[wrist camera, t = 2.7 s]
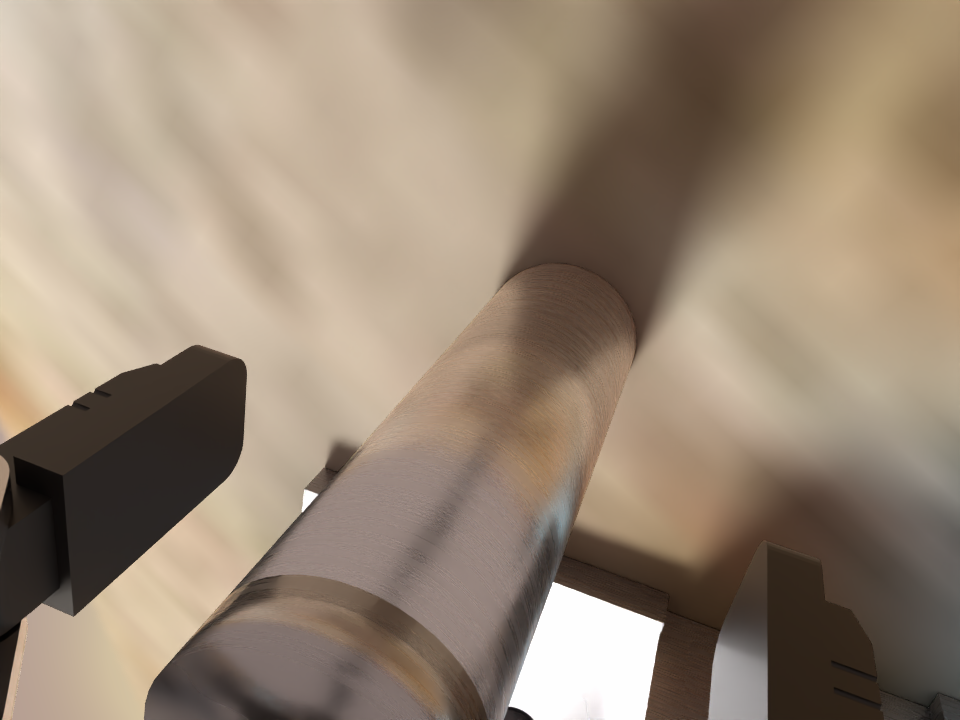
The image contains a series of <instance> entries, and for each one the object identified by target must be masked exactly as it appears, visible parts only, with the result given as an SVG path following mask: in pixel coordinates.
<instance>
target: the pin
mask: <svg viewBox="0 0 960 720" xmlns="http://www.w3.org/2000/svg"><path fill="white" fill-rule="evenodd" d="M635 350H636V330H635V325H634V321H633V318H632V315H631V312H630V310H629V308H628V306H627V304H626V303H625V301H624V300H623V298H622V297H621V295H620V294H619V293H618V292H617V291H616V290H615V288H614V287H613V286H611V285H610V284H609V283H608V282H607V281H606V280H604V279H603V278H601V277H600V276H598V275H597V274H595V273H593V272H591V271H589V270H586V269H584V268H581V267H578V266H574V265H569V264H561V263H549V264H542V265H537V266H534V267H531V268H528V269H526V270H523V271H521V272H519V273H518V274H516V275H515V276H513V277H512V278H511V279H510V280H509V281H507V282H506V283H505V284H504V285H503V287H502V288H501V289H500V290H499V291H498V292H497V293H496V294H495V296H494V297H493V298H492V299H491V300H490V301H489V302H488V303H487V305H486V306H485V307H484V308H483V309H482V310H481V311H480V312H479V314H478V315H477V316H476V317H475V318H474V319H473V320H472V321H471V323H470V324H469V325H468V326H467V327H466V328H465V329H464V331H463V332H462V333H461V334H460V335H459V336H458V337H457V338H456V340H455V341H454V342H453V343H452V344H451V345H450V346H449V347H448V349H447V350H446V351H445V352H444V353H443V354H442V355H441V356H440V358H439V359H438V360H437V361H436V362H435V363H434V364H433V365H432V367H431V368H430V369H429V370H428V371H427V372H426V373H425V375H424V376H423V377H422V378H421V379H420V380H419V381H418V382H417V384H416V385H415V386H414V387H413V388H412V389H411V390H410V391H409V393H408V394H407V395H406V396H405V397H404V398H403V399H402V400H401V402H400V403H399V404H398V405H397V406H396V407H395V408H394V409H393V411H392V412H391V413H390V414H389V415H388V416H387V417H386V419H385V420H384V421H383V422H382V423H381V424H380V425H379V426H378V428H377V429H376V430H375V431H374V432H373V433H372V434H371V435H370V437H369V438H368V439H367V440H366V441H365V442H364V443H363V444H362V446H361V447H360V448H359V449H358V450H357V451H356V452H355V453H354V455H353V456H352V457H351V458H350V459H349V460H348V461H347V462H346V464H345V465H344V466H343V467H342V468H341V469H340V470H339V472H338V473H337V474H336V475H335V476H334V477H333V478H332V479H331V481H330V482H329V483H328V484H327V485H326V486H325V487H324V488H323V490H322V491H321V492H320V493H319V494H318V495H317V496H316V497H315V499H314V500H313V501H312V502H311V503H310V504H309V505H308V506H307V508H306V509H305V510H304V511H303V512H302V513H301V514H300V516H299V517H298V518H297V519H296V520H295V521H294V522H293V523H292V525H291V526H290V527H289V528H288V529H287V530H286V531H285V532H284V534H283V535H282V536H281V537H280V538H279V539H278V540H277V541H276V543H275V544H274V545H273V546H272V547H271V548H270V549H269V550H268V552H267V553H266V554H265V555H264V556H263V557H262V558H261V560H260V561H259V562H258V563H257V564H256V565H255V566H254V567H253V569H252V570H251V571H250V572H249V573H248V574H247V575H246V576H245V578H244V579H243V580H242V581H241V582H240V583H239V584H238V585H237V587H236V588H235V589H234V590H233V591H232V592H231V593H230V594H229V596H228V597H227V598H226V599H225V600H224V601H223V602H222V603H221V605H220V606H219V607H218V608H217V609H216V610H215V611H214V613H213V614H212V615H211V616H210V617H209V618H208V619H207V620H206V622H205V623H204V624H203V625H202V626H201V627H200V628H199V629H198V631H197V632H196V633H195V634H194V635H193V636H192V637H191V638H190V640H189V641H188V642H187V643H186V644H185V645H184V646H183V647H182V649H181V650H180V651H179V652H178V653H177V654H176V655H175V657H174V658H173V659H172V660H171V661H170V662H169V663H168V664H167V666H166V667H165V668H164V669H163V670H162V671H161V672H160V674H159V675H158V676H157V677H156V678H155V680H154V682H153V684H152V685H151V687H150V689H149V691H148V695H147V699H146V703H145V714H144V720H504V718H505V715H506V712H507V709H508V707H509V704H510V701H511V698H512V696H513V693H514V690H515V687H516V684H517V682H518V679H519V676H520V673H521V670H522V668H523V665H524V662H525V659H526V657H527V654H528V651H529V648H530V645H531V643H532V640H533V637H534V634H535V632H536V629H537V626H538V623H539V620H540V618H541V615H542V612H543V609H544V607H545V604H546V601H547V598H548V595H549V593H550V590H551V587H552V584H553V582H554V579H555V576H556V573H557V570H558V568H559V565H560V562H561V559H562V556H563V554H564V551H565V548H566V545H567V543H568V540H569V537H570V534H571V531H572V529H573V526H574V523H575V520H576V518H577V515H578V512H579V509H580V506H581V504H582V501H583V498H584V495H585V493H586V490H587V487H588V484H589V481H590V479H591V476H592V473H593V470H594V467H595V465H596V462H597V459H598V456H599V454H600V451H601V448H602V445H603V442H604V440H605V437H606V434H607V431H608V429H609V426H610V423H611V420H612V417H613V415H614V412H615V409H616V406H617V404H618V401H619V398H620V395H621V392H622V390H623V387H624V384H625V381H626V378H627V376H628V373H629V370H630V367H631V365H632V362H633V359H634V355H635Z"/></svg>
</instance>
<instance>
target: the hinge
mask: <svg viewBox="0 0 960 720" xmlns="http://www.w3.org/2000/svg"><path fill="white" fill-rule="evenodd" d="M336 474H337V473H336V472H334V471H331V470H328V469H325V468H323V469H322V470H321V472H320V473H319V474H318V475H317V476H316V477H315V478H314V479H313V480H312V481H311V482H310V483H309V485H308V486H307V487H306V488H305V489H304V497H303V507H302V512H303V511H304V510H305V509H306V508H307V506H308V505H309V504H310V503H311V502H312V501H313V500H314V499H315V497H316V496H317V495H318V494H319V493H320V492H321V491H322V490H323V488H324V487H325V486H326V485H327V484H328V483H329V482H330V481H331V479H332V478H333V477H334V476H335V475H336ZM668 599H669V594H667V593H664V592H661V591H658V590H656V589H653V588H650V587H647V586H645V585H642V584H639V583H637V582H634V581H631V580H628V579H626V578H623V577H620V576H617V575H615V574H612V573H609V572H607V571H604V570H601V569H598V568H596V567H593V566H590V565H587V564H585V563H582V562H579V561H577V560H574V559H571V558H568V557H566V556H562V559H561V562H560V565H559V568H558V570H557V573H556V576H555V579H554V582H553V584H552V587H551V590H550V593H549V595H548V598H547V601H546V604H545V607H544V609H543V612H542V615H541V618H540V620H539V623H538V626H537V629H536V632H535V634H534V637H533V640H532V643H531V645H530V648H529V651H528V654H527V657H526V659H525V662H524V665H523V668H522V670H521V673H520V676H519V679H518V682H517V684H516V687H515V690H514V693H513V696H512V698H511V701H510V704H509V707H508V709H507V712H506V715H505V718H504V720H708V717H709V704H710V691H711V679H712V667H713V659H714V654H715V649H716V645H717V641H718V637H719V634H720V631H719V630H716V629H713V628H711V627H708V626H705V625H702V624H700V623H697V622H694V621H692V620H689V619H686V618H684V617H681V616H678V615H676V614H673V613H670V612H667V606H668ZM879 691H880V690H879ZM880 697H881V703H882V705H881V709H880V711H882V712H883V715H884V720H960V701H959V700H956V699H953V698H950V697H948V696H945V695H942V694H939V693H938V694H937V696H936V697H935V699H934V700H933V702H932V703H931V705H930V706H929V708H926V707H924V706H921V705H918V704H915V703H913V702H910V701H907V700H905V699H902V698H899V697H897V696H894V695H891V694H888V693H886V692H883V691H880Z"/></svg>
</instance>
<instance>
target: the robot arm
mask: <svg viewBox="0 0 960 720" xmlns="http://www.w3.org/2000/svg"><path fill="white" fill-rule="evenodd" d="M246 382H247V370H246V366H245V363H244V362H243V361H242V360H241V359H239V358H236V357H233V356H230V355H227V354H224V353H221V352H218V351H215V350H212V349H209V348H206V347H203V346H201V345H194V346H191V347H189V348H188V349H186V350H184V351H183V352H181V353H179V354H178V355H176V356H175V357H173V358H171V359H170V360H168V361H166V362H165V363H163V364H162V365H159V364H152V365H149V366H145V367H142V368H138V369H135V370H131V371H127V372H124V373H121V374H119V375H118V376H116V377H114V378H113V379H111V380H109V381H107V382H106V383H104V384H102V385H101V386H99V387H97V388H96V389H95V391H94V393H92V392H89V393H87V394H85V395H84V396H82V397H80V398H79V399H77V400H75V401H74V402H73V405H72V406H69V405H67V406H65V407H63V408H62V409H60V410H58V411H57V412H55V413H53V414H52V415H50V416H48V417H46V418H45V419H43V420H41V421H40V422H38V423H36V424H35V425H33V426H31V427H30V428H28V429H26V430H24V431H23V432H21V433H19V434H18V435H16V436H14V437H13V438H11V439H9V440H8V441H6V442H4V443H3V444H1V445H0V720H12V715H13V710H14V704H15V698H16V692H17V687H18V682H19V676H20V671H21V665H22V659H23V654H24V648H25V643H26V637H27V628H28V625H27V615H28V614H29V613H31V612H32V611H33V610H34V609H35V608H37V607H38V606H39V605H40V604H41V603H43V604H46V605H48V606H50V607H53V608H55V609H57V610H59V611H62V612H64V613H67V614H69V615H71V616H73V617H74V616H75V615H76V614H77V613H78V612H80V610H82V609H83V608H84V607H85V606H86V605H87V604H88V603H89V602H91V601H92V600H93V599H94V598H95V597H96V596H97V595H98V594H99V593H101V592H102V591H103V590H104V589H105V588H106V587H107V586H108V585H109V584H111V583H112V582H113V581H114V580H115V579H116V578H117V577H118V576H119V575H121V574H122V573H123V572H124V571H125V570H126V569H127V568H128V567H129V566H131V565H132V564H133V563H134V562H135V561H136V560H137V559H138V558H139V557H141V556H142V555H143V554H144V553H145V552H146V551H147V550H148V549H149V548H151V547H152V546H153V545H154V544H155V543H156V542H157V541H158V540H159V539H161V538H162V537H163V536H164V535H165V534H166V533H167V532H168V531H169V530H170V529H172V528H173V527H174V526H175V525H176V524H177V523H178V522H179V521H180V520H182V519H183V518H184V517H185V516H186V515H187V514H188V513H189V512H190V511H192V510H193V509H194V508H195V507H196V506H197V505H198V504H199V503H200V502H202V501H203V500H204V499H205V498H206V497H207V496H208V495H209V494H210V493H212V492H213V491H214V490H215V489H216V488H217V487H218V486H219V485H220V484H222V483H223V482H224V481H225V480H226V479H227V478H228V477H229V475H230V474H231V473H232V471H233V470H234V468H235V466H236V464H237V462H238V460H239V457H240V454H241V451H242V447H243V438H244V419H245V400H246ZM876 679H877V672H876V666H875V660H874V654H873V648H872V643H871V642H870V640H869V639H868V637H867V635H866V634H865V632H864V630H863V629H862V627H861V626H860V624H859V622H858V621H857V619H856V618H855V616H854V614H853V613H852V611H851V610H850V609H847V608H844V607H841V606H838V605H835V604H832V603H830V602H827V601H825V595H824V584H823V574H822V565H821V562H820V560H819V559H818V558H815V557H812V556H809V555H806V554H803V553H800V552H797V551H794V550H791V549H788V548H785V547H783V546H780V545H777V544H774V543H771V542H768V541H765V540H764V541H762V542H761V543H760V545H759V546H758V548H757V549H756V552H755V554H754V556H753V558H752V560H751V562H750V565H749V567H748V569H747V571H746V574H745V576H744V578H743V580H742V582H741V585H740V587H739V589H738V591H737V593H736V596H735V598H734V600H733V602H732V605H731V607H730V609H729V611H728V613H727V616H726V618H725V620H724V623H723V625H722V628H721V631H720V634H719V637H718V641H717V645H716V649H715V654H714V659H713V667H712V679H711V691H710V704H709V717H708V720H884V715H883V712H882V711H880V709H881V705H882V703H881V697H880V691H879V684H878V683H876Z"/></svg>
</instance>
